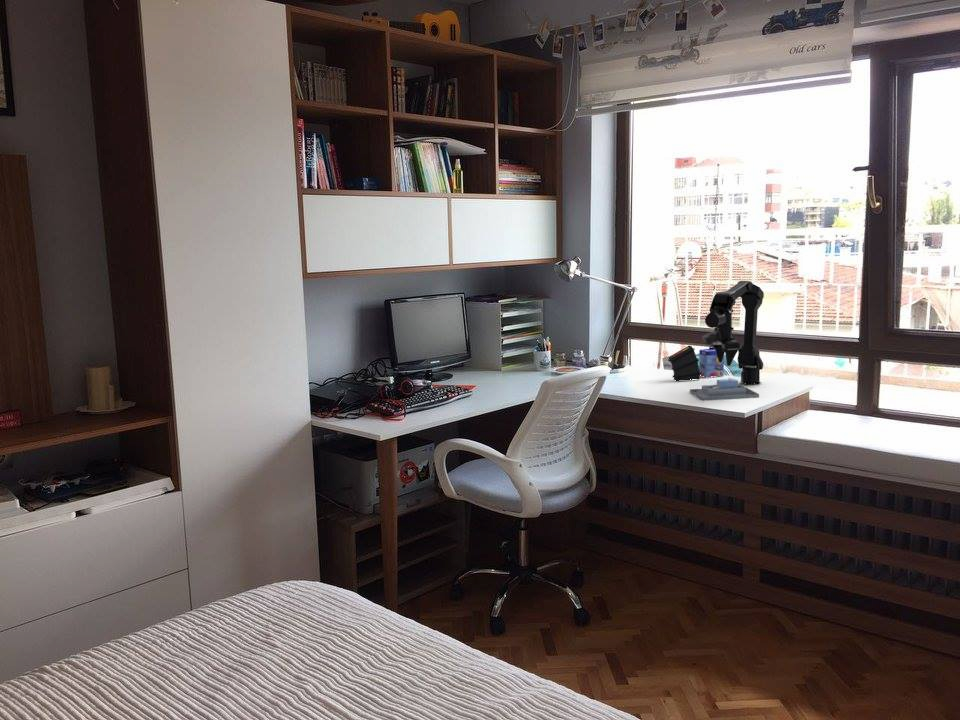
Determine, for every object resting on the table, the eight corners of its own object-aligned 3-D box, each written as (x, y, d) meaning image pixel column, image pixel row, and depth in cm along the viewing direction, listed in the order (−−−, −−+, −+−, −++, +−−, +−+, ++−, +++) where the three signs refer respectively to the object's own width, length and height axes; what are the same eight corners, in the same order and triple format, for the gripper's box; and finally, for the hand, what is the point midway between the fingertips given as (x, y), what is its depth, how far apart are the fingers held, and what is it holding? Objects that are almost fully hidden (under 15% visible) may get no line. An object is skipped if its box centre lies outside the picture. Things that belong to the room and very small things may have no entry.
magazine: (707, 375, 351) (692, 345, 348) (681, 390, 350) (666, 360, 347) (703, 374, 355) (689, 344, 352) (677, 389, 354) (663, 359, 351)
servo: (734, 390, 320) (734, 376, 320) (737, 391, 316) (737, 378, 316) (711, 391, 320) (711, 378, 319) (715, 393, 316) (715, 379, 315)
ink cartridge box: (706, 378, 354) (705, 345, 352) (698, 376, 359) (698, 344, 357) (724, 376, 357) (724, 343, 355) (716, 374, 363) (716, 342, 360)
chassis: (743, 389, 327) (743, 381, 326) (759, 397, 311) (759, 388, 310) (689, 392, 326) (689, 384, 325) (702, 400, 310) (702, 392, 310)
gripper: (696, 323, 326) (696, 361, 329) (712, 328, 308) (712, 369, 310) (723, 321, 327) (723, 359, 329) (740, 327, 308) (741, 367, 311)
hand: (724, 363), depth 320 cm, fingers open, 9 cm apart
